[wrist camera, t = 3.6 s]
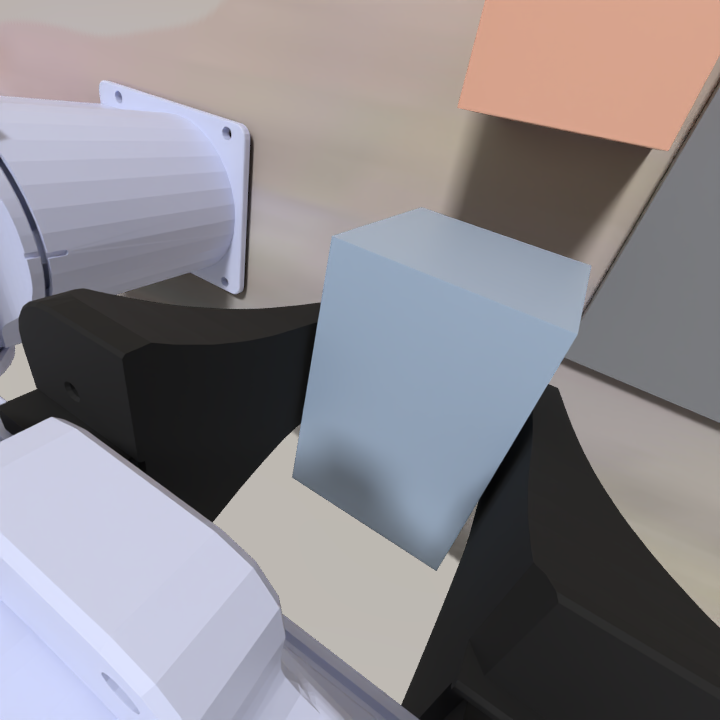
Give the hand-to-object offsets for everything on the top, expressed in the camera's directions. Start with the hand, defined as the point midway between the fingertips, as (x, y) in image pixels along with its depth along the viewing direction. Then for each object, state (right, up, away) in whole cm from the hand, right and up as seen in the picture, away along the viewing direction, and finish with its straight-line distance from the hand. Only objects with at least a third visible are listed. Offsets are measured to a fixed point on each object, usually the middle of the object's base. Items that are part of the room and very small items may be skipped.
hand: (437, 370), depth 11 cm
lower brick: (+1, +1, +1) cm, 2 cm away
